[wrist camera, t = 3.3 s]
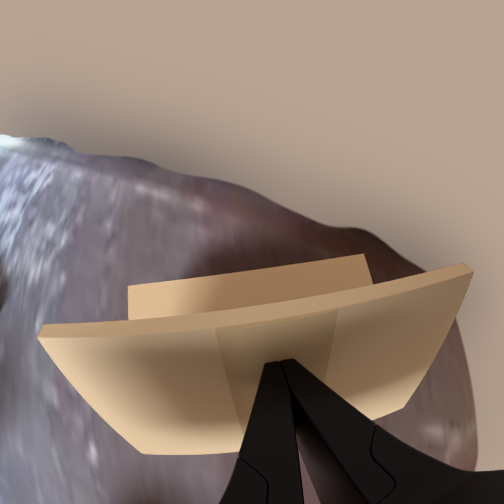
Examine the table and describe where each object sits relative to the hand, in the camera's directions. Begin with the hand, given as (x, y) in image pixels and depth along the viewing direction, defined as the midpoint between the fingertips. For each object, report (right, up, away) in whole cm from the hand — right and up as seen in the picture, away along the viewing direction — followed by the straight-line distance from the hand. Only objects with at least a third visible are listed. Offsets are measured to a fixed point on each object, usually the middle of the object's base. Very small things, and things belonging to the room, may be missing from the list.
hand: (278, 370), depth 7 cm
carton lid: (0, -2, +2) cm, 2 cm away
